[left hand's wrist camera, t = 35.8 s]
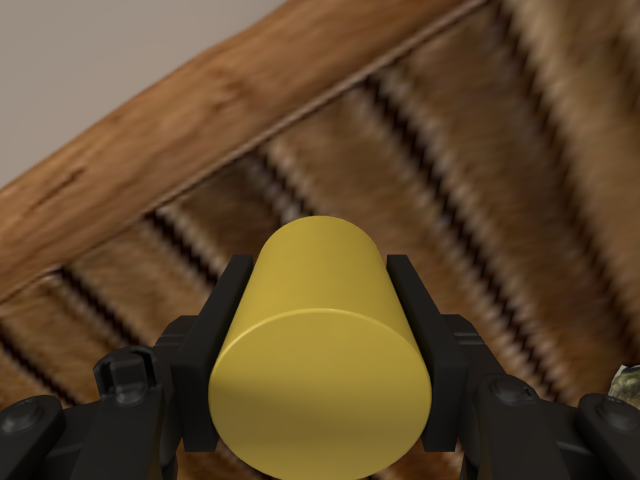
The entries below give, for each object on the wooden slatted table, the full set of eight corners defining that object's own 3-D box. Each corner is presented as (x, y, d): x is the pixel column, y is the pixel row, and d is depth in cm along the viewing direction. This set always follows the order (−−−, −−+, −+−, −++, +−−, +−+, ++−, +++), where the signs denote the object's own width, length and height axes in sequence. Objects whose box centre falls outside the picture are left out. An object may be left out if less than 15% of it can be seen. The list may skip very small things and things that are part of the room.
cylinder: (383, 327, 16) (427, 482, 9) (263, 333, 16) (224, 489, 10) (384, 211, 14) (439, 303, 8) (248, 218, 14) (188, 315, 8)
